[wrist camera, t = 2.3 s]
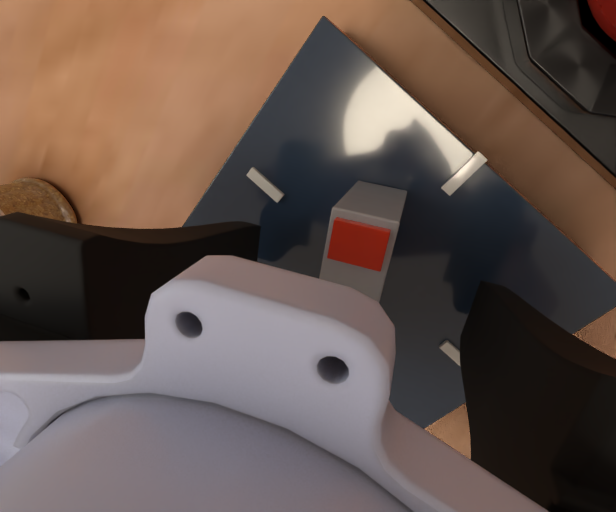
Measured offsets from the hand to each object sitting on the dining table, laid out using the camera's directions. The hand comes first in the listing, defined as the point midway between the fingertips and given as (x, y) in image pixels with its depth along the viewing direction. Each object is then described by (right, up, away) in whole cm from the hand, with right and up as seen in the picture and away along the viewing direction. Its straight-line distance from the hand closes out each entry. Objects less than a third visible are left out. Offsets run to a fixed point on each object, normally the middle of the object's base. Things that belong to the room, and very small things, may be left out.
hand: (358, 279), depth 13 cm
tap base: (+1, +1, +3) cm, 4 cm away
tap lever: (0, 0, +1) cm, 1 cm away
